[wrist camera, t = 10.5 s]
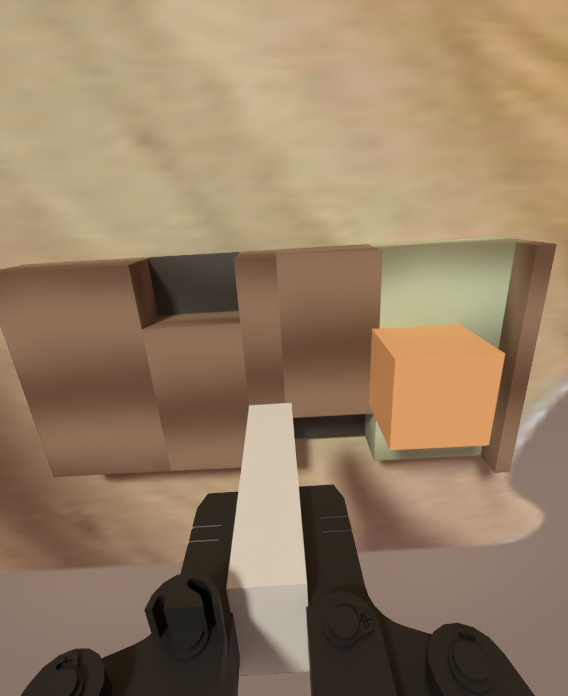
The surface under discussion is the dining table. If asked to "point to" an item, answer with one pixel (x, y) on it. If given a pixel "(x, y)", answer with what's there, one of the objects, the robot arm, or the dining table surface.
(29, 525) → the dining table surface
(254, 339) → the board
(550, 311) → the dining table surface
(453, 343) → the block
